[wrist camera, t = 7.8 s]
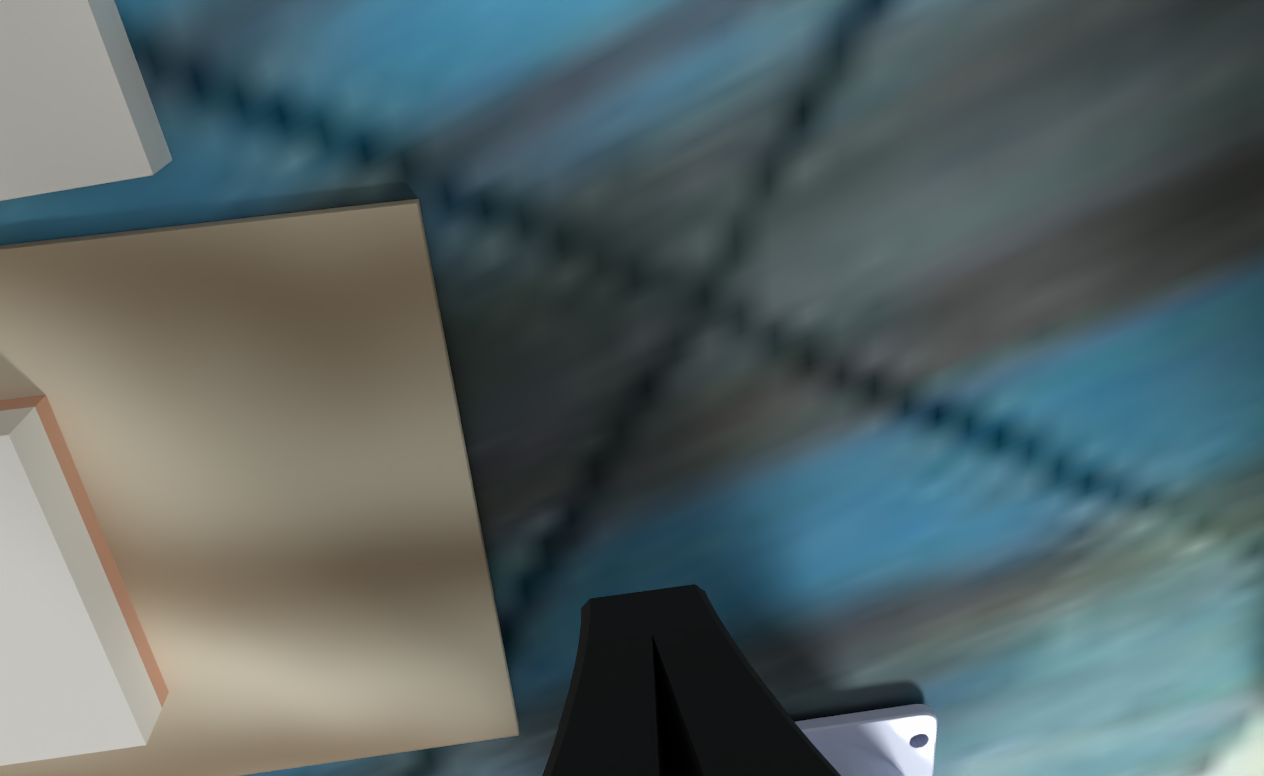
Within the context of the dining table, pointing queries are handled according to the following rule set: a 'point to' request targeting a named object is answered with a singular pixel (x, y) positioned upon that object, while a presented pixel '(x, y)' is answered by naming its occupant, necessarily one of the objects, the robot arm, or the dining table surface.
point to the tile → (63, 608)
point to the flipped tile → (71, 99)
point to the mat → (270, 482)
